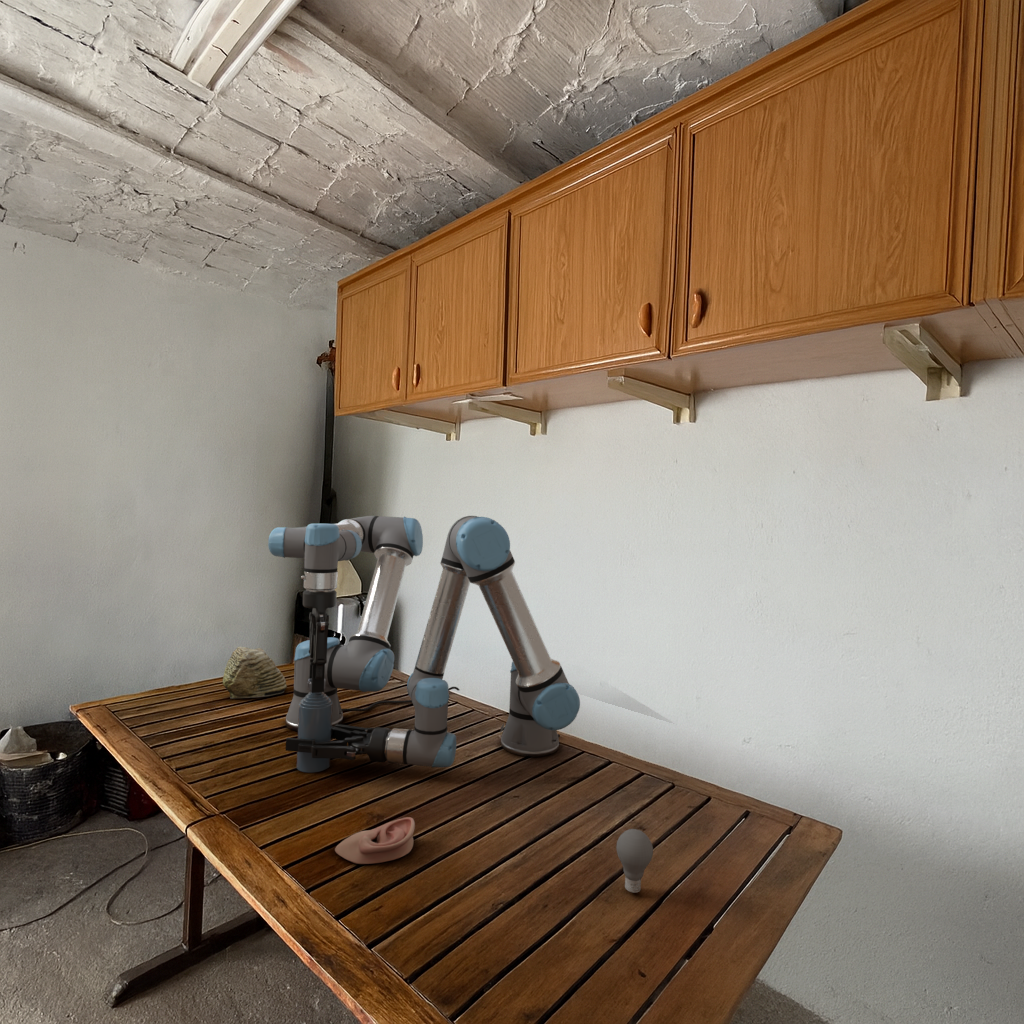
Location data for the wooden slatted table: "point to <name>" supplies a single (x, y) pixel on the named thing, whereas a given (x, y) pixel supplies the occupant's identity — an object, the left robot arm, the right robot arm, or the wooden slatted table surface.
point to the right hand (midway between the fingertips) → (294, 737)
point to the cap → (311, 684)
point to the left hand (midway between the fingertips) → (316, 688)
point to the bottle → (314, 729)
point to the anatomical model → (379, 843)
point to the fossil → (252, 674)
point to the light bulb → (634, 857)
